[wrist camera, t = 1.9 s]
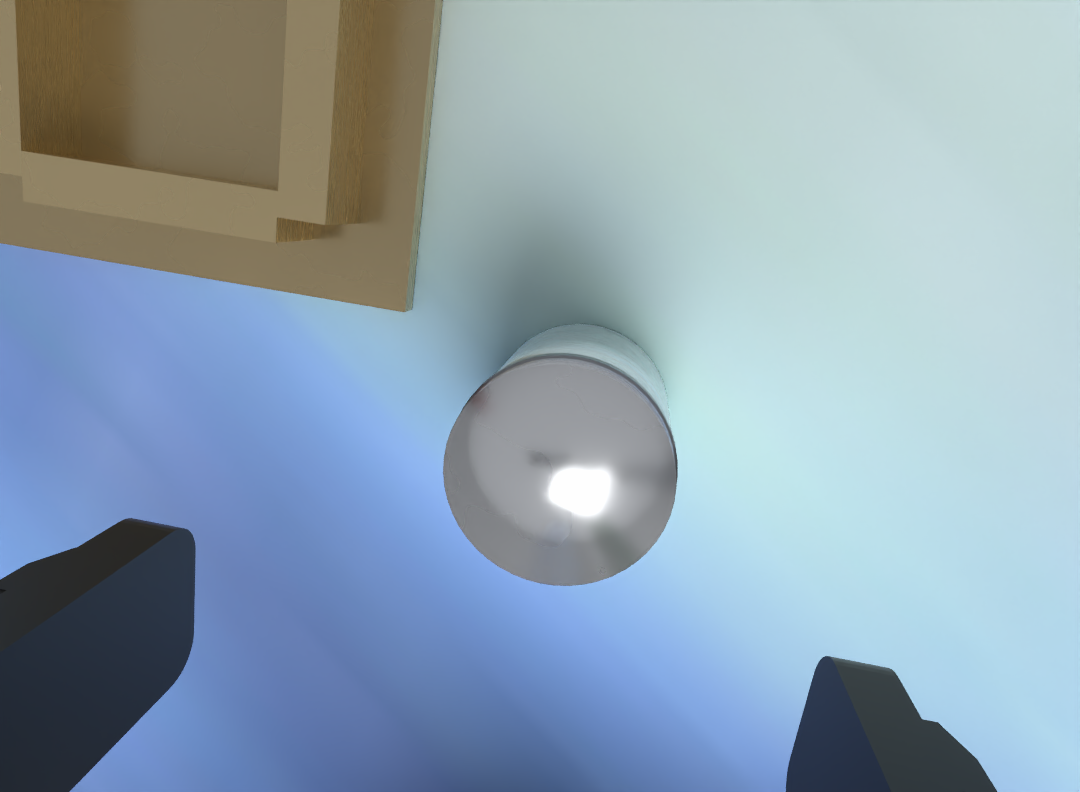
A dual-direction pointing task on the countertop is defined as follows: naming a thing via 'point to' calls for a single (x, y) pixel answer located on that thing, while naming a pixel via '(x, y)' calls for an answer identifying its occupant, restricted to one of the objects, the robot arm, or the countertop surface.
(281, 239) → the collar
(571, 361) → the cylinder
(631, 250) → the countertop surface
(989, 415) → the countertop surface
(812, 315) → the countertop surface
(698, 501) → the countertop surface
